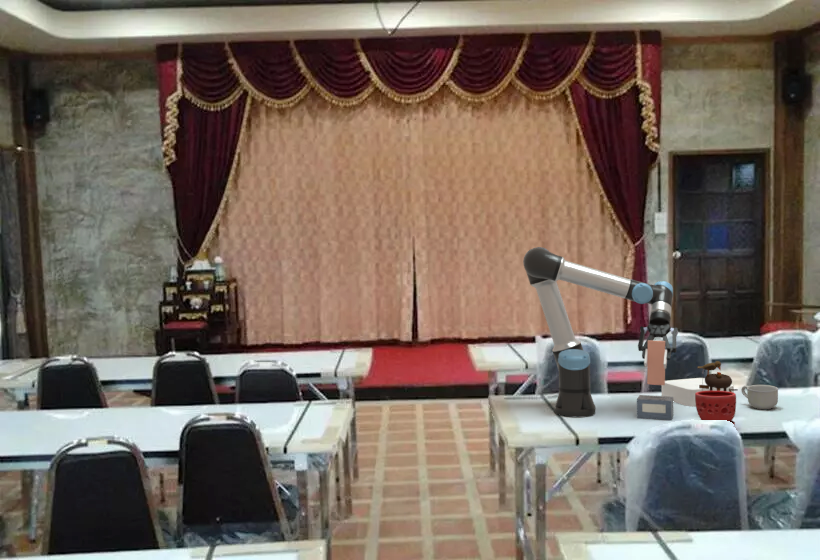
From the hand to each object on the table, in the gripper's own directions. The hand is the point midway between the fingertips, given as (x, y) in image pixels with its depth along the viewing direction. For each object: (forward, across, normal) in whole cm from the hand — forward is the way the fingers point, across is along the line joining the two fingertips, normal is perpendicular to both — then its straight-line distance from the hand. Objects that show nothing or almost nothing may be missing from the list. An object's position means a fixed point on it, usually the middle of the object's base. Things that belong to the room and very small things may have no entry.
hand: (655, 365), depth 281 cm
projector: (-14, -12, -42) cm, 46 cm away
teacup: (-9, -35, -36) cm, 51 cm away
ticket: (+3, 0, -8) cm, 8 cm away
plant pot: (+18, -21, -9) cm, 29 cm away
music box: (+3, -21, -24) cm, 32 cm away
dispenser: (+11, 0, -16) cm, 20 cm away
